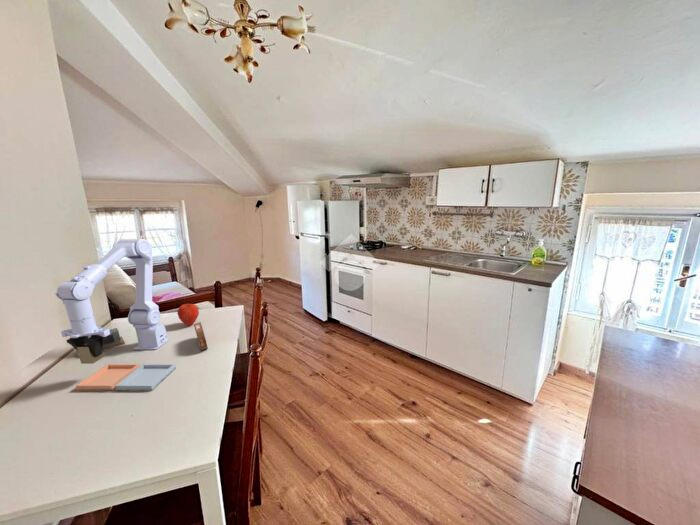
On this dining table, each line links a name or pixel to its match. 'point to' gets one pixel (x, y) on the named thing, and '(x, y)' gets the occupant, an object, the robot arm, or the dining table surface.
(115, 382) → the terracotta tray
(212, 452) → the dining table surface
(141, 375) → the blue-grey tray
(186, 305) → the apple
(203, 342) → the tin
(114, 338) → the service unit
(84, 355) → the wooden block with knob
